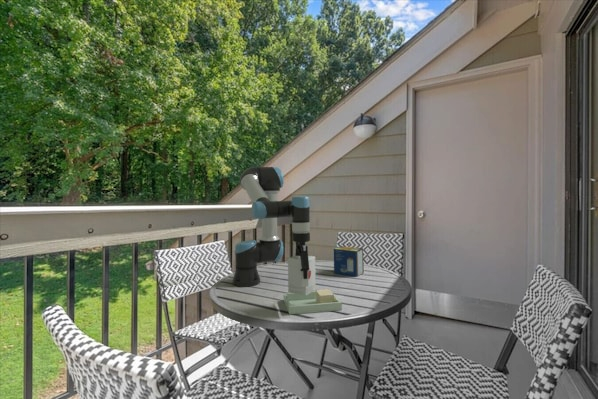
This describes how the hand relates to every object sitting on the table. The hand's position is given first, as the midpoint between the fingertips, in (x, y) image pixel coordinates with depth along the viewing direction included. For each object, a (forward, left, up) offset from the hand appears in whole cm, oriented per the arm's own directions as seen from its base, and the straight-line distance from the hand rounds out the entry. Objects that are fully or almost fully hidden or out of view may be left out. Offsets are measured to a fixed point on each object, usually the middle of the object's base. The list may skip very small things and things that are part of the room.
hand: (302, 282), depth 134 cm
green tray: (0, +4, -11) cm, 12 cm away
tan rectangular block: (0, +10, -10) cm, 14 cm away
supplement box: (0, 0, -4) cm, 4 cm away
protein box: (-51, +39, -11) cm, 65 cm away
